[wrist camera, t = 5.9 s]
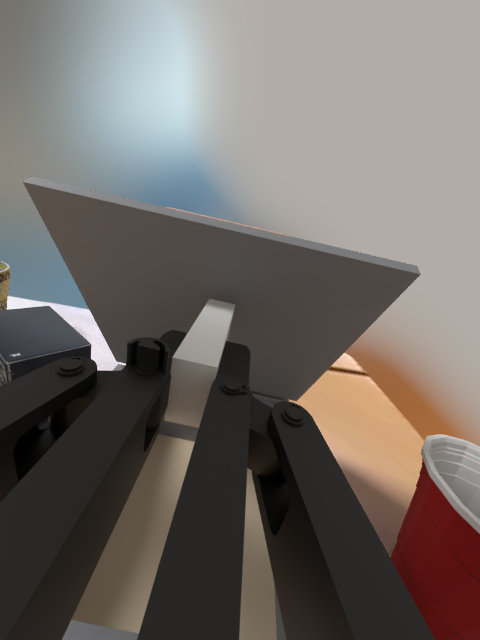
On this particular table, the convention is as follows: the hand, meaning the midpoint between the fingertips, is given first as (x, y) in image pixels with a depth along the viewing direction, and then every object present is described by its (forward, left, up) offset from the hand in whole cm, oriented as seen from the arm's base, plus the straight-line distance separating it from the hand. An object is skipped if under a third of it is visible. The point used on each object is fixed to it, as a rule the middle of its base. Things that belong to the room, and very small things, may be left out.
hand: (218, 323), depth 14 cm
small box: (-17, +7, -18) cm, 26 cm away
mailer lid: (0, +3, -2) cm, 4 cm away
